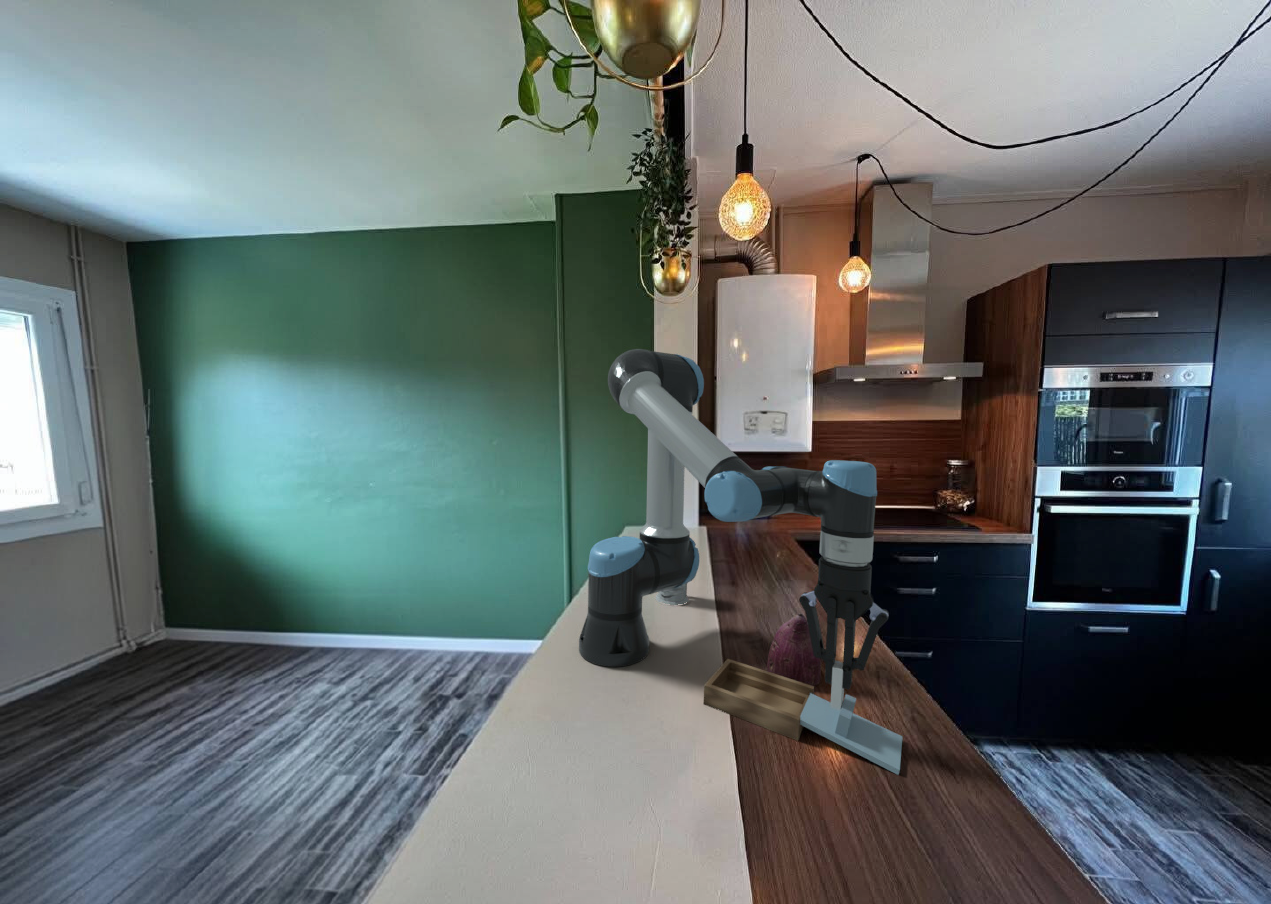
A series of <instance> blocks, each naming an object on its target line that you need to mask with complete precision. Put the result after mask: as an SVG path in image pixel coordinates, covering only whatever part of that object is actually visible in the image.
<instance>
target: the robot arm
mask: <svg viewBox="0 0 1271 904" xmlns="http://www.w3.org/2000/svg"><path fill="white" fill-rule="evenodd" d="M607 384H608V389H609V392H610V394H611V397H612V398H613V400H614V401H615V403H616V404H618V406H619V407H620V408H621V409H622V410H623V411H624V412H625V413H628V414H632V415H635V416H636V417H637V418H638V420H640V422H641V423H642V424H643V425H644V426H645V427H646V428H647V466H646V467H647V469H646V470H647V471H646V473H647V474H646V475H647V476H646V477H647V478H646V517H645V518H646V521H645V524H644V525H643V526H642V527H641V528H640V529H639V538H638V537H635V536H627V535H623V536H612V537H609V538H608V537H607V538H605V539H602V540H599V541H598V542H596V543H595V544H594V545H593V546H592V547H591V549H590V552H589V557H588V558H589V559H588V564H587V570H588V582H587V583H588V585H587V586H588V589H587V590H588V591H587V593H588V594H587V596H588V597H587V614H586V618H585V621H584V624H583V626H582V630H581V632H580V636H579V639H578V651H579V654H580V656H581V657H582V658H583V659H585V661H587V662H589V663H592V664H594V665H599V666H601V667H616V668H617V667H625V666H626V667H627V666H630V665H633V664H636V663H639V662H640V661H642V660H644V659H645V658H646V657H647V656H648V654H649V651H650V637H649V635H648V632H647V628H646V624H645V620H644V617H643V597H646V596H649V595H652V594H656V593H657V594H658V592H660V591H664V590H668V589H674V588H677V587H680V586H681V585H683V584H686V583H687V584H688V583H690V582H692V581H693V580H694V579H695V578H694V576H695V575H696V576H697V573H698V569H699V566H700V552H699V548H698V547H696V544H697V543H696V542H695V540H694V539H693V538H692V537H691V534H690V530H689V529H688V528H687V527H686V526H685V525H684V511H685V510H684V506H685V469H686V470H687V471H688V472H689V473H690V474H691V475H692V476H693V477H694V478H695V479H696V480H697V481H698V482H699V484H700V485H702V487H703V488H705V489H704V502H705V504H706V505H707V510H708V511H709V513H710V514H711V515H712V516H713V517H714V518H715V519H717V520H719V521H721V522H725V523H731V522H734V523H735V522H749V521H750V520H753V519H759V518H764V517H771V516H777V515H782V514H789V513H790V514H792V513H793V514H794V513H795V514H799V515H800V514H801V515H806V516H810V517H811V516H812V517H816V518H817V517H818V518H820V533H819V535H820V538H819V554H820V555H821V557H819V559H818V572H817V574H818V575H817V584H816V585H815V587H814V589H813V590H812V591H809V592H806V591H805V592H803V593H802V594H801V596H800V597H799V598H798V601H799V603H800V605H801V607H802V608H803V609H804V613H805V618H806V620H807V624H808V629H809V634H810V639H811V644H812V649H813V654H814V656H815V657H816V658H820V659H821V661H823V662H824V664H825V665H824V666H825V667H824V681H825V684H828V685H831V688H830V689H831V690H830V694H831V695H830V702H831V705H830V707H831V708H834V709H837V710H840V711H841V708H842V705H843V701H844V698H845V695H844V693H845V689H846V690H849V691H850V689H851V688H852V684H853V671H854V670H859V671H863V670H864V669H865V668H866V665H867V663H868V660H869V657H870V654H871V653H872V648H873V646H874V644H875V641H876V638H877V636H878V632H879V630H880V629H881V628H882V626H884V624H886V623H887V621H888V620H889V615H890V613H889V611H888V610H887V609H885V608H881V607H880V606H879V605H878V604H877V603H875V600H874V596H873V595H872V592H871V589H872V588H871V587H872V571H873V566H872V565H871V562H872V561H873V557H874V555H873V553H874V540H875V539H874V538H875V536H874V535H875V515H876V507H877V506H876V504H877V497H878V490H877V489H878V488H877V469H876V467H875V466H874V464H872V463H870V462H865V461H858V460H857V461H856V460H842V459H841V460H837V459H831V460H828V461H826V462H825V463H824V465H823V469H822V470H810V469H801V468H793V467H792V468H791V467H787V466H783V465H782V466H765V467H763V468H761V469H760V470H759V469H756V470H755V469H753V468H752V467H750V466H749V464H747V463H746V462H745V461H743V459H742V458H740V457H739V456H738V455H737V454H736V453H734V452H733V450H731V448H729V447H728V446H727V445H726V444H725V443H724V442H723V441H721V440H720V439H719V438H718V437H717V436H716V435H715V434H714V433H713V432H711V430H710V429H709V428H708V427H706V425H704V424H703V423H702V422H701V421H700V420H698V418H696V417H695V416H694V415H693V406H695V405H696V404H698V403H699V401H700V398H701V397H703V394H704V386H705V379H704V374H703V373H702V370H701V368H700V366H699V365H698V364H697V363H696V361H694V360H693V359H692V358H690V357H688V356H687V357H686V356H683V355H681V354H678V353H668V352H659V351H654V350H648V349H642V348H636V349H635V348H634V349H629V350H626V351H625V352H623V353H621V354H620V355H618V356H617V357H616V358H615V360H614V361H612V364H611V366H610V367H609V370H608V375H607ZM696 576H695V577H696ZM693 578H694V579H693ZM692 579H693V580H692ZM691 580H692V581H691ZM817 600H818V602H819V604H820V606H821V607H822V609H823V611H824V612H825V613H826V623H827V624H826V640H825V641H826V642H825V645H824V641H823V637H822V636H823V635H822V630H821V625H820V620H819V615H818V610H817V607H816V605H817V603H818V602H817ZM868 611H870V614H869V619H870V620H871V621H870V624H869V626H868V628H867V632H866V634H865V638H864V640H863V643H862V645H861V649H860V651H859V655H858V656H857V657H855V644H856V643H855V641H856V640H855V639H856V624H857V620H859V619H860V618H861V617H862V616H864V615H865V614H866V613H867V612H868ZM839 619H842V620H844V635H843V636H844V639H843V642H844V643H843V654H842V655H843V656H842V657H843V659H842V661H839V660H837V659H836V658H837V644H838V627H839V625H838V624H839Z"/></svg>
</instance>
